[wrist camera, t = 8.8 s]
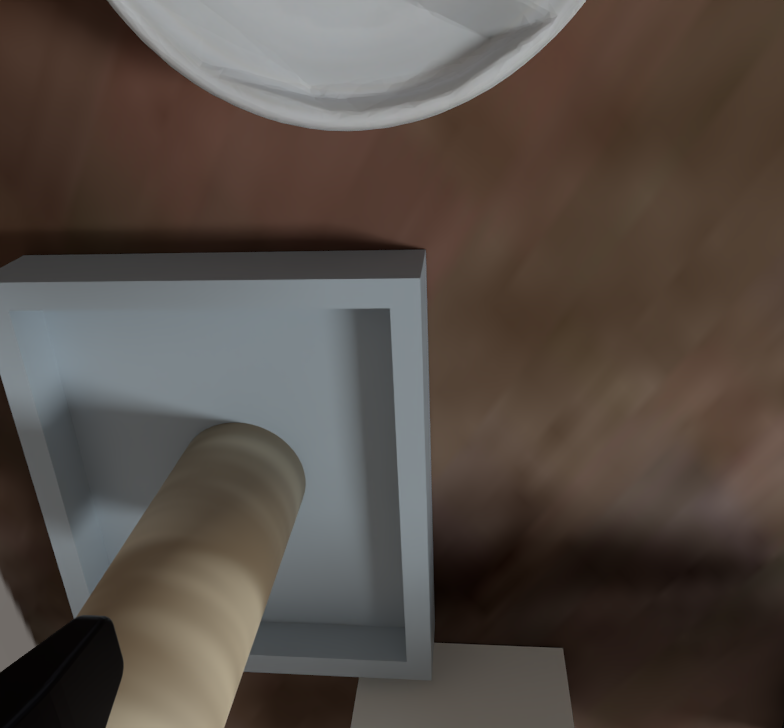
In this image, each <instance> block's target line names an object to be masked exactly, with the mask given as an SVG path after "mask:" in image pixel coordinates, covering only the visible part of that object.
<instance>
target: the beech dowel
mask: <svg viewBox="0 0 784 728" xmlns="http://www.w3.org/2000/svg"><path fill="white" fill-rule="evenodd" d="M305 487H306V479H305V473H304V469H303V466H302V464H301V462H300V460H299V458H298V456H297V455H296V453H295V452H294V451H293V449H292V448H291V447H290V446H289V445H288V444H287V443H286V442H285V441H284V440H283V439H281V438H280V437H278V436H277V435H276V434H274V433H272V432H270V431H268V430H266V429H264V428H262V427H259V426H255V425H252V424H247V423H237V422H234V423H223V424H218V425H215V426H212V427H210V428H208V429H205V430H204V431H202V432H201V433H199V434H198V435H197V436H196V437H195V438H194V439H193V440H192V441H191V442H190V444H189V445H188V447H187V448H186V450H185V451H184V453H183V454H182V456H181V457H180V459H179V460H178V462H177V464H176V465H175V467H174V468H173V470H172V471H171V473H170V474H169V476H168V477H167V479H166V480H165V482H164V483H163V485H162V486H161V488H160V490H159V491H158V493H157V494H156V496H155V497H154V499H153V500H152V502H151V503H150V505H149V506H148V508H147V509H146V511H145V512H144V514H143V516H142V517H141V519H140V520H139V522H138V523H137V525H136V526H135V528H134V529H133V531H132V532H131V534H130V535H129V537H128V538H127V540H126V542H125V543H124V545H123V546H122V548H121V549H120V551H119V552H118V554H117V555H116V557H115V558H114V560H113V561H112V563H111V564H110V566H109V568H108V569H107V571H106V572H105V574H104V575H103V577H102V578H101V580H100V581H99V583H98V584H97V586H96V587H95V589H94V590H93V592H92V594H91V595H90V597H89V598H88V600H87V601H86V603H85V604H84V606H83V607H82V609H81V610H80V612H79V613H78V615H77V616H76V617H78V616H82V615H96V616H107V617H109V618H110V619H111V620H112V621H113V624H114V627H115V631H116V634H117V638H118V642H119V645H120V649H121V653H122V656H123V662H124V669H123V676H122V679H121V683H120V686H119V689H118V692H117V695H116V698H115V701H114V704H113V707H112V710H111V713H110V716H109V719H108V722H107V725H106V728H224V727H225V724H226V721H227V718H228V715H229V712H230V709H231V706H232V703H233V700H234V697H235V695H236V692H237V689H238V686H239V683H240V680H241V677H242V674H243V671H244V668H245V665H246V663H247V660H248V657H249V654H250V651H251V648H252V645H253V642H254V639H255V636H256V633H257V631H258V628H259V625H260V622H261V619H262V616H263V613H264V610H265V607H266V604H267V601H268V599H269V596H270V593H271V590H272V587H273V584H274V581H275V578H276V575H277V572H278V569H279V567H280V564H281V561H282V558H283V555H284V552H285V549H286V546H287V543H288V540H289V537H290V535H291V532H292V529H293V526H294V523H295V520H296V517H297V514H298V511H299V508H300V505H301V503H302V500H303V496H304V493H305Z"/></svg>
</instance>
